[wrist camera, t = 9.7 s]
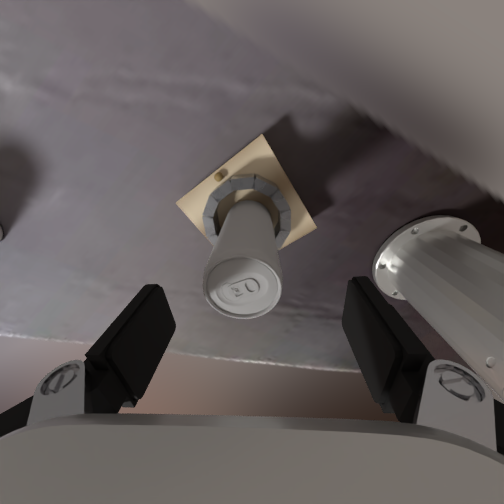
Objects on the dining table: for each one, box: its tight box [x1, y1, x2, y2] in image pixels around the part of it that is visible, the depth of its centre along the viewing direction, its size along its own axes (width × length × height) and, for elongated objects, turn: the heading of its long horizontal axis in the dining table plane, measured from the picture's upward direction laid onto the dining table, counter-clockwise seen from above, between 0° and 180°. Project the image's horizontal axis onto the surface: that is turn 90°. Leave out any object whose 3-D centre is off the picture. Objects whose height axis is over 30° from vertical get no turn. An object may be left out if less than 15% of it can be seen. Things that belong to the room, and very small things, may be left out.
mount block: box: [176, 134, 317, 250], centre depth 23 cm, size 11×11×4 cm
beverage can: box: [203, 200, 283, 319], centre depth 17 cm, size 5×5×12 cm
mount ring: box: [202, 173, 291, 250], centre depth 21 cm, size 8×8×2 cm
